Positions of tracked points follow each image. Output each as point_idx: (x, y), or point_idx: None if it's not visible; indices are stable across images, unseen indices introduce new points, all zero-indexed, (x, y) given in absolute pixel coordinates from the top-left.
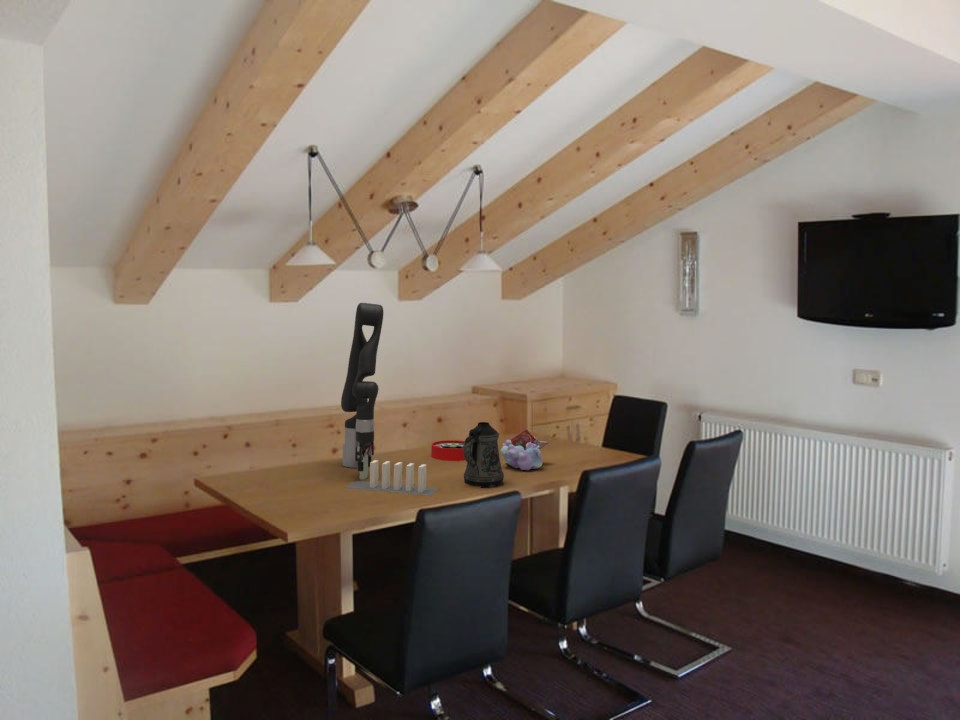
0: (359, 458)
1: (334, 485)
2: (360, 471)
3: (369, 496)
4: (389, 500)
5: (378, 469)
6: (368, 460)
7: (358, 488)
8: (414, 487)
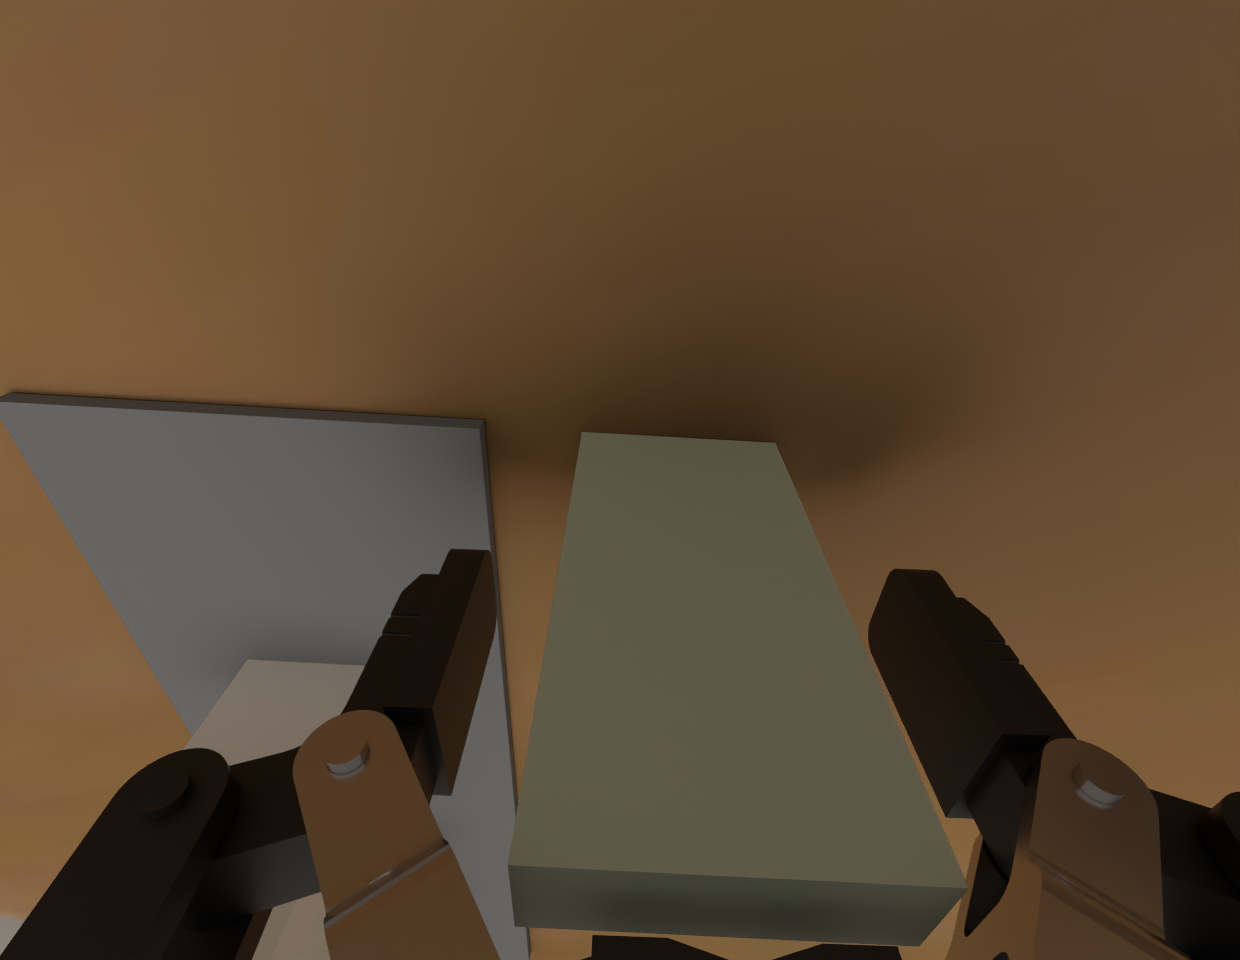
0: (411, 825)
1: (41, 126)
2: (566, 535)
3: (20, 706)
4: (65, 824)
5: (317, 911)
6: (940, 718)
7: (121, 574)
8: (479, 888)
